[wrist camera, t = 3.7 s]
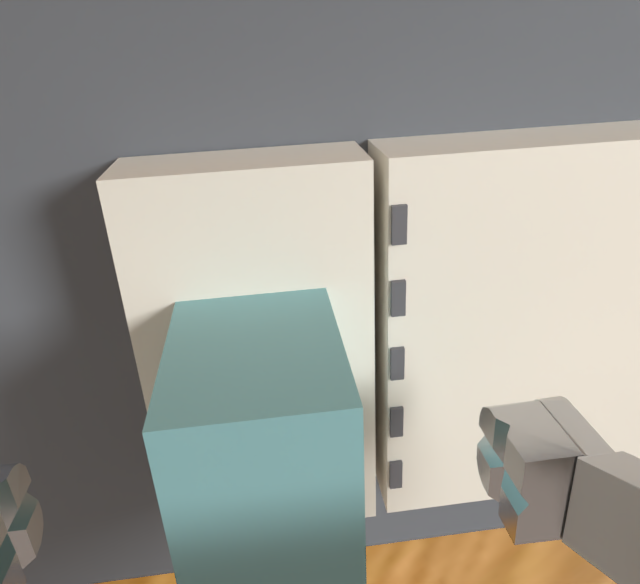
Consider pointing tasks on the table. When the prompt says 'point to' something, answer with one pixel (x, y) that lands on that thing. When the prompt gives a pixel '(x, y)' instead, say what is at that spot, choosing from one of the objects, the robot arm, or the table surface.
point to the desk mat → (212, 135)
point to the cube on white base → (253, 354)
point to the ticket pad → (501, 293)
